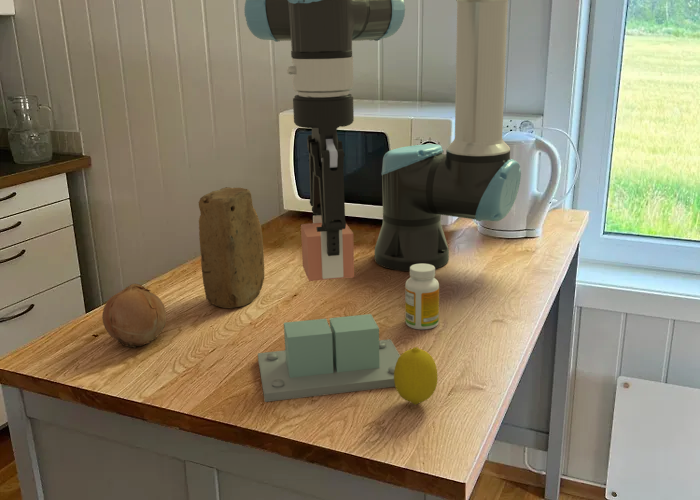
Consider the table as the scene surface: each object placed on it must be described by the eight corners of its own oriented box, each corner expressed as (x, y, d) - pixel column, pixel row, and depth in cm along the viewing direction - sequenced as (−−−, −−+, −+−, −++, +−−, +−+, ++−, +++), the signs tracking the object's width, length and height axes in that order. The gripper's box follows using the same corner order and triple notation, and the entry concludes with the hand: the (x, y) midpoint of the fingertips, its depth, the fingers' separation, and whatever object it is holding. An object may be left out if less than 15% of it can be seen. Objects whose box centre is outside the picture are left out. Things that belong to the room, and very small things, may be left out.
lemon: (391, 394, 94) (390, 339, 92) (432, 392, 94) (433, 337, 92) (397, 416, 89) (397, 359, 86) (441, 414, 89) (442, 356, 87)
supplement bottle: (441, 318, 117) (442, 263, 114) (434, 332, 112) (435, 274, 109) (409, 315, 119) (410, 260, 116) (401, 328, 114) (401, 271, 111)
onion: (139, 349, 116) (139, 287, 117) (179, 346, 110) (178, 282, 112) (89, 350, 108) (89, 284, 109) (129, 347, 103) (129, 278, 104)
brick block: (345, 262, 99) (344, 221, 97) (354, 277, 93) (353, 233, 91) (302, 266, 98) (300, 224, 96) (308, 281, 92) (307, 237, 90)
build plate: (390, 346, 108) (390, 302, 105) (412, 384, 96) (412, 336, 94) (258, 360, 104) (255, 315, 102) (264, 401, 93) (261, 352, 91)
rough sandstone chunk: (233, 313, 121) (224, 199, 115) (200, 305, 125) (189, 194, 118) (272, 292, 130) (265, 185, 123) (240, 285, 133) (232, 181, 127)
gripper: (284, 87, 96) (292, 249, 104) (302, 102, 79) (310, 296, 86) (339, 85, 98) (343, 245, 105) (369, 99, 80) (371, 291, 87)
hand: (328, 268), depth 95 cm, fingers closed on brick block, 6 cm apart
